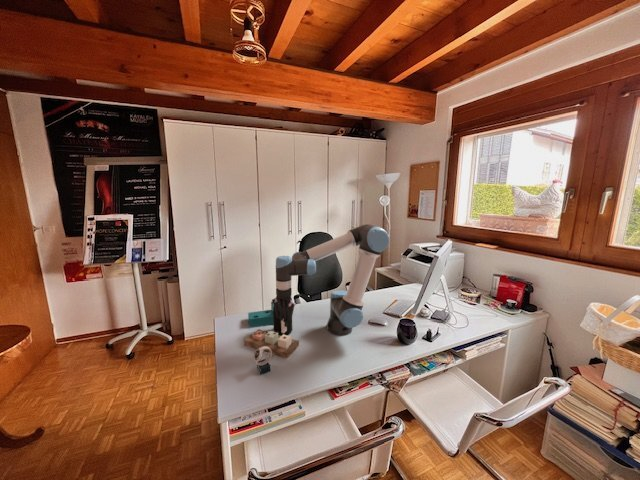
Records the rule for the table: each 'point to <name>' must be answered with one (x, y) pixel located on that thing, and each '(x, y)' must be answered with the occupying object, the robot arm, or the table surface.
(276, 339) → the die
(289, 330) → the coffee jar
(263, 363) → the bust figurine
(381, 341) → the table surface
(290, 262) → the robot arm
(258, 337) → the die
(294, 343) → the wooden dice tray
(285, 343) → the die
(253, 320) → the teal l-shaped bracket
